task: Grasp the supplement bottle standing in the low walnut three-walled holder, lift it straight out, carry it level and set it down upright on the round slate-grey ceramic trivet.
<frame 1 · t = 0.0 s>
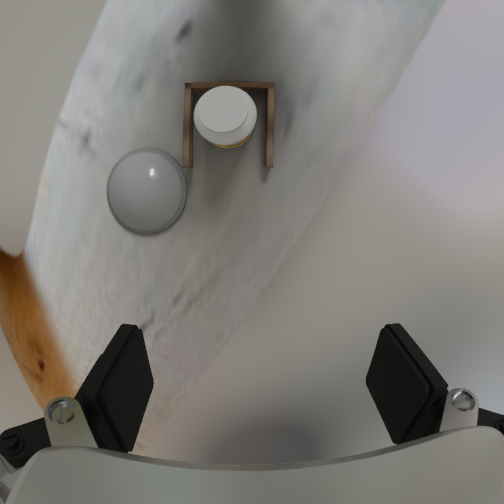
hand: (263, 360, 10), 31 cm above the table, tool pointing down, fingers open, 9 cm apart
holder: (229, 125, 36), on the table
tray: (145, 191, 38), on the table
supplement bottle: (229, 125, 36), on the table
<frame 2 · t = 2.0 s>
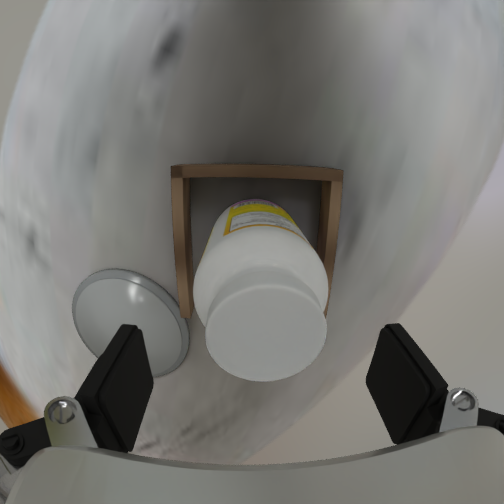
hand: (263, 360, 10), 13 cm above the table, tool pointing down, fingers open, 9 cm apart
holder: (254, 239, 22), on the table
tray: (128, 327, 25), on the table
supplement bottle: (254, 238, 23), on the table
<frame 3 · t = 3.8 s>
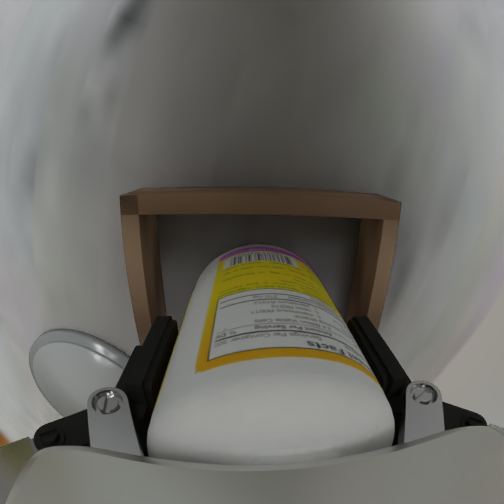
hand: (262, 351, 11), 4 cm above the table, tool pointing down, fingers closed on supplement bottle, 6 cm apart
holder: (258, 301, 15), on the table
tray: (96, 395, 17), on the table
supplement bottle: (258, 299, 15), on the table, touching gripper
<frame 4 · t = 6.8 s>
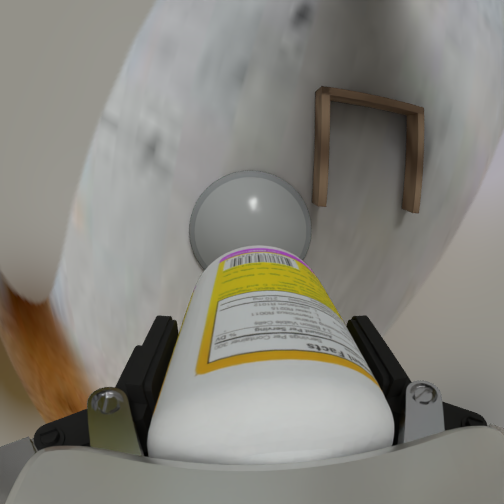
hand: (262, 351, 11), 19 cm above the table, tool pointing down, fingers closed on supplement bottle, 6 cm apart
holder: (367, 151, 27), on the table
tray: (250, 231, 29), on the table
supplement bottle: (258, 300, 15), point 15 cm above the table, touching gripper
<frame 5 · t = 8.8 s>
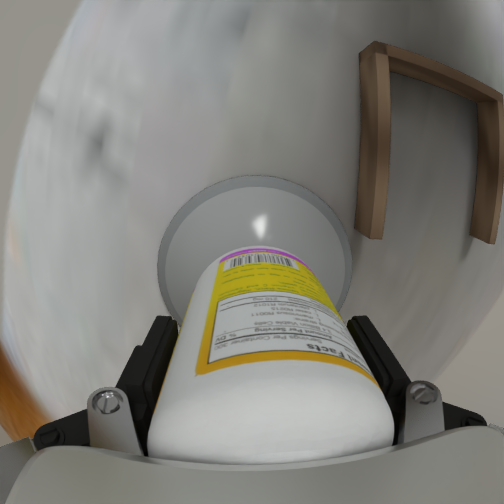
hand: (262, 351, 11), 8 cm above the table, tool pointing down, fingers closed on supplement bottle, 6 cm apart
holder: (433, 150, 16), on the table
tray: (255, 274, 18), on the table
supplement bottle: (258, 300, 15), point 3 cm above the table, touching gripper
when the fingers open (6 cm above the table, at t = 10.1 s): supplement bottle drops 1 cm, resting on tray.
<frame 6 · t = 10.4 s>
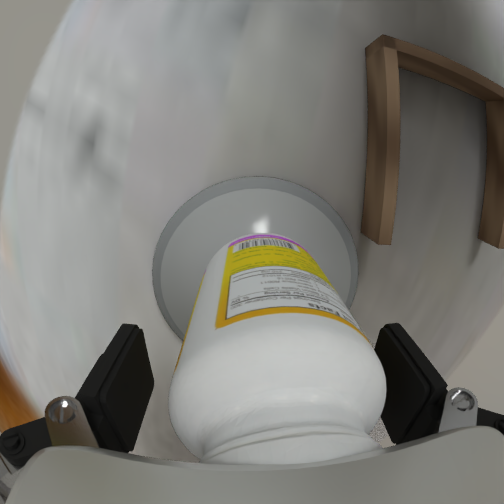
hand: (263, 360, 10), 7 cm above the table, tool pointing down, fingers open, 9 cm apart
holder: (442, 151, 15), on the table
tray: (256, 281, 17), on the table
supplement bottle: (262, 284, 16), point 1 cm above the table, touching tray
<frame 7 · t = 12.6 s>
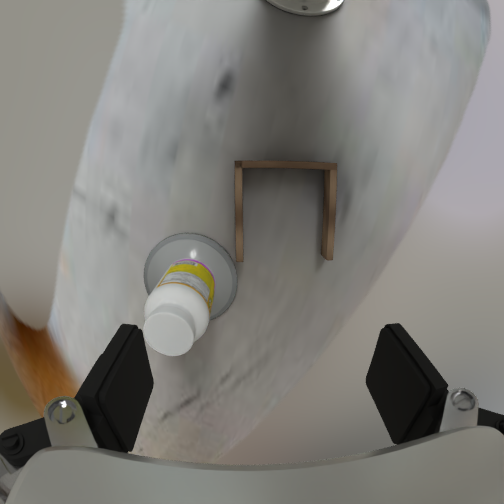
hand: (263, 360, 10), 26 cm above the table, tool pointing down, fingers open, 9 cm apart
holder: (283, 209, 34), on the table
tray: (189, 279, 37), on the table
supplement bottle: (191, 280, 36), point 1 cm above the table, touching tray
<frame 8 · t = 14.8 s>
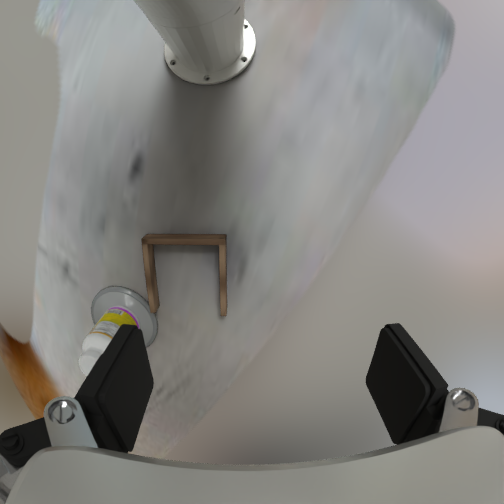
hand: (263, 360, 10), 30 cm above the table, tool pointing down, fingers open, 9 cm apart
holder: (187, 272, 42), on the table
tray: (123, 319, 44), on the table
supplement bottle: (123, 320, 43), point 1 cm above the table, touching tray
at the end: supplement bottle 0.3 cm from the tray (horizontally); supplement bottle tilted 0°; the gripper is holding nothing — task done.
